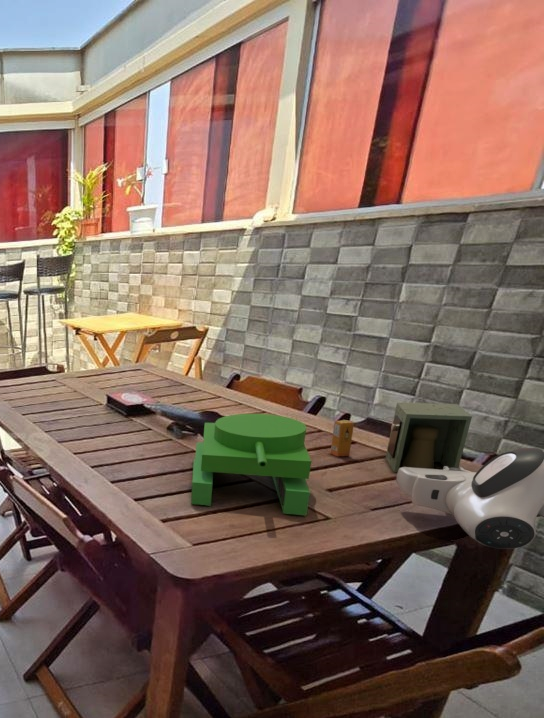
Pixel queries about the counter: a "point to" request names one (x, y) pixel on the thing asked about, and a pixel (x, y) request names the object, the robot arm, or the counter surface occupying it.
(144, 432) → the counter surface
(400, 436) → the oven box
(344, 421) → the supplement box
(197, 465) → the tank
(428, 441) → the cork
